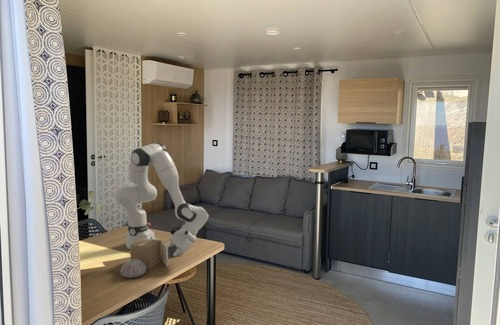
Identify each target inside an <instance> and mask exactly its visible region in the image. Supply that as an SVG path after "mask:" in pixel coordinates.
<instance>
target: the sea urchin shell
mask: <svg viewBox="0 0 500 325" xmlns="http://www.w3.org/2000/svg"><path fill="white" fill-rule="evenodd" d="M147 270H148V268H147V267H146V265H145V263H144V262H142V261H141V260H139V259H131V258H130V259H128V260H127V261H125V262H124V263H123V264H122V266H121V268H120V270H119V273H120V275H121V276H122V277H124V278H125V279H127V278H128V279H133V278H134V279H135V278H136V279H137V278H139V277H141V276H144V275H145V273H146V272H147Z"/></svg>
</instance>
